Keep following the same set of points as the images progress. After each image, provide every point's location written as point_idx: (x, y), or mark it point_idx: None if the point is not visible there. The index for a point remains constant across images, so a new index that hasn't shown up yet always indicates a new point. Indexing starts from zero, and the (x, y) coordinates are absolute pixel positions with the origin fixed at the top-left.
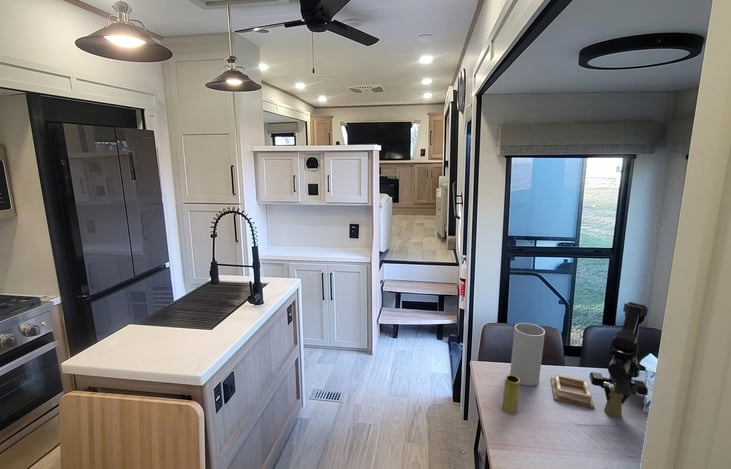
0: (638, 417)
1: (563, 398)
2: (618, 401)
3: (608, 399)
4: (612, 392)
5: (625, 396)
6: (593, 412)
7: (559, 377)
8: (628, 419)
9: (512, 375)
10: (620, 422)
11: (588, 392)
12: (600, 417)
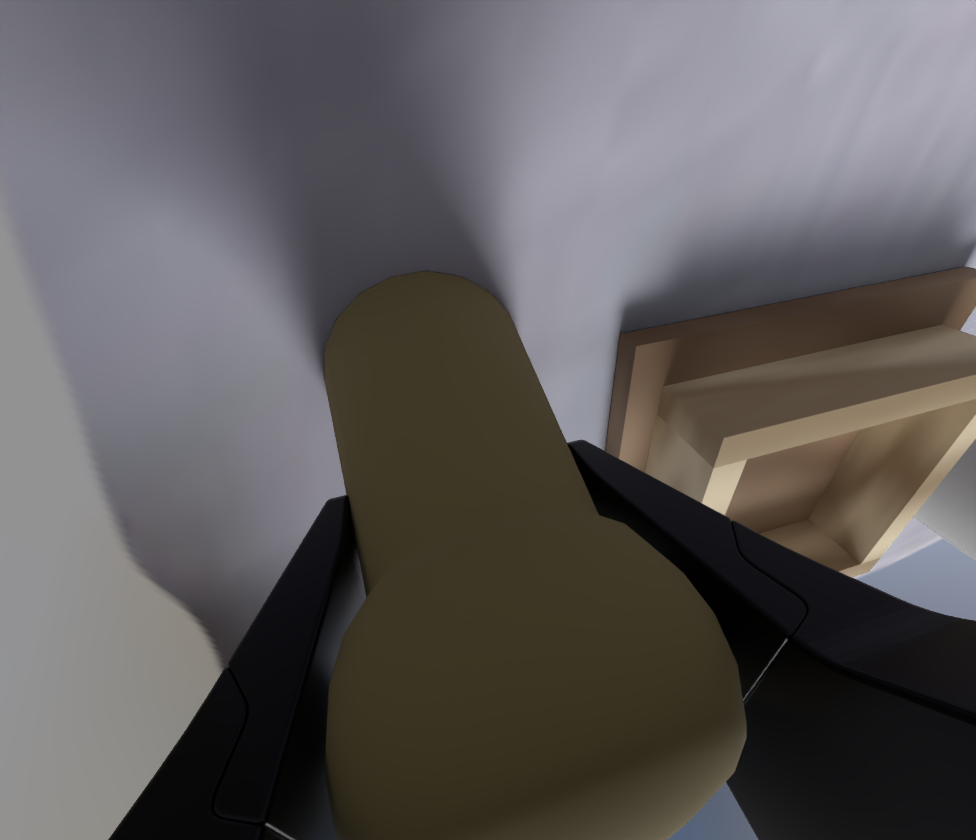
0: (119, 453)
1: (904, 317)
2: (427, 476)
3: (586, 459)
4: (714, 647)
5: (267, 719)
6: (651, 247)
7: (843, 559)
8: (226, 335)
9: None
10: (323, 179)
11: (715, 502)
12: (594, 164)
